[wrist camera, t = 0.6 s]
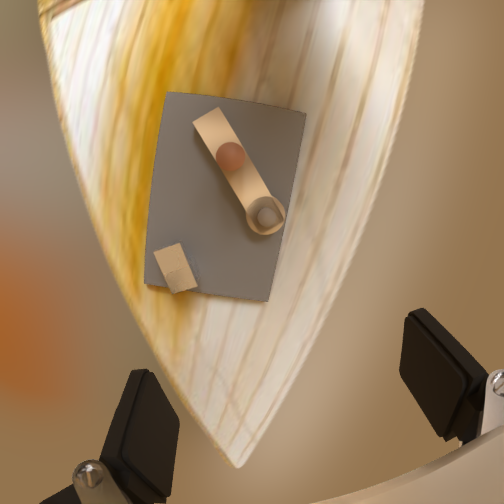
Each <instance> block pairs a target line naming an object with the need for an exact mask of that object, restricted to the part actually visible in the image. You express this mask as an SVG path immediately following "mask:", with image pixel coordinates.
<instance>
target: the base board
mask: <svg viewBox="0 0 504 504" xmlns="http://www.w3.org/2000/svg"><path fill="white" fill-rule="evenodd" d="M217 107H219V108H220V110H221V111H222V113H223V115H224V116H225V118H226V119H227V121H228V123H229V124H230V126H231V128H232V129H233V131H234V133H235V134H236V136H237V138H238V139H239V141H240V142H241V144H242V146H243V148H244V149H245V151H246V153H247V154H248V156H249V158H250V159H251V161H252V163H253V164H254V166H255V168H256V170H257V171H258V173H259V175H260V176H261V178H262V180H263V182H264V183H265V185H266V187H267V189H268V190H269V192H270V194H271V196H273V197H275V198H276V199H277V200H278V201H279V202H280V203H281V204H282V205H283V207H284V210H285V221H286V216H287V212H288V207H289V202H290V197H291V192H292V187H293V182H294V177H295V172H296V167H297V162H298V156H299V151H300V146H301V141H302V135H303V130H304V125H305V119H306V113H302V112H298V111H293V110H289V109H284V108H279V107H275V106H270V105H265V104H259V103H254V102H248V101H242V100H236V99H229V98H222V97H215V96H207V95H198V94H188V93H177V92H167V93H166V98H165V103H164V108H163V114H162V119H161V124H160V130H159V136H158V142H157V149H156V155H155V162H154V170H153V177H152V186H151V194H150V204H149V214H148V225H147V237H146V252H145V271H144V284H150V285H156V286H162V287H168V288H169V286H168V284H167V282H166V280H165V278H164V275H163V273H162V271H161V269H160V267H159V264H158V262H157V260H156V257H155V255H154V253H153V252H154V251H155V249H158V248H160V247H163V246H166V245H169V244H172V243H175V242H177V241H180V240H181V241H182V243H183V246H184V248H185V251H186V253H187V256H188V257H190V256H193V257H194V260H195V262H196V265H197V267H198V269H199V272H200V274H201V275H200V279H199V283H198V286H197V287H194V288H191V289H187V291H194V292H200V293H207V294H214V295H221V296H228V297H235V298H243V299H250V300H258V301H266V302H268V299H269V295H270V291H271V286H272V282H273V277H274V273H275V268H276V264H277V259H278V254H279V250H280V245H281V240H282V236H283V231H284V226H285V222H284V223H283V225H282V227H281V228H280V229H279V230H278V231H276V232H274V233H272V234H268V235H263V234H262V235H260V234H259V233H256V232H255V231H253V230H252V229H251V228H250V226H249V225H248V223H247V219H246V210H245V209H244V207H243V205H242V203H241V202H240V200H239V198H238V197H237V195H236V193H235V192H234V190H233V188H232V187H231V185H230V183H229V182H228V180H227V178H226V177H225V175H224V174H223V172H222V170H221V169H220V167H219V165H218V164H217V162H216V160H215V159H214V157H213V155H212V154H211V152H210V150H209V149H208V147H207V146H206V144H205V142H204V141H203V139H202V137H201V136H200V134H199V132H198V131H197V129H196V128H195V126H194V124H193V123H192V122H193V121H195V120H197V119H198V118H200V117H202V116H203V115H205V114H207V113H208V112H210V111H212V110H214V109H215V108H217Z"/></svg>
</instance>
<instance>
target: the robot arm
mask: <svg viewBox="0 0 504 504" xmlns="http://www.w3.org/2000/svg"><path fill="white" fill-rule="evenodd" d="M399 372H400V375H401V378H402V379H403V381H404V382H405V384H406V385H407V387H408V389H409V390H410V392H411V393H412V395H413V396H414V398H415V399H416V401H417V403H418V404H419V406H420V408H421V409H422V411H423V412H424V414H425V415H426V417H427V419H428V420H429V422H430V424H431V425H432V427H433V429H434V430H435V432H436V434H437V435H438V436H439V437H443V438H444V440H445V441H446V442H447V441H449V440H451V439H452V438H454V437H456V436H457V438H458V439H459V441H460V442H459V447H458V449H456V450H454V451H452V452H451V453H448V454H446V455H445V456H443V457H441V458H439V459H437V460H434V461H432V462H430V463H428V464H426V465H424V466H422V467H420V468H417V469H415V470H413V471H411V472H408V473H406V474H404V475H401V476H399V477H396V478H394V479H391V480H389V481H386V482H383V483H381V484H378V485H375V486H372V487H369V488H366V489H363V490H360V491H357V492H354V493H350V494H347V495H343V496H340V497H336V498H332V499H329V500H324V501H320V502H316V503H311V504H504V369H502V370H497V371H494V372H493V373H491V374H490V375H489V374H488V373H487V372H486V370H485V369H484V368H483V367H482V366H481V365H480V364H479V363H478V362H477V361H476V360H475V359H474V357H472V355H470V353H469V352H468V351H467V350H466V349H465V348H464V347H463V346H462V345H461V344H460V343H459V342H458V341H457V340H456V339H455V338H454V337H453V336H452V335H451V334H450V333H449V332H448V331H447V330H446V329H445V328H444V327H443V326H442V325H441V324H440V323H439V322H438V321H437V320H436V319H435V318H434V317H433V316H432V315H431V314H430V313H429V312H428V311H427V310H426V309H424V308H420V309H417V310H414V311H411V312H410V313H409V314H408V317H406V318H405V322H404V333H403V344H402V352H401V360H400V367H399ZM179 426H180V423H179V418H178V416H177V415H176V413H175V411H174V409H173V408H172V406H171V404H170V402H169V401H168V399H167V397H166V395H165V393H164V392H163V390H162V388H161V386H160V384H159V382H158V380H157V378H156V377H155V375H154V373H153V372H149V370H147V369H138V370H132V371H131V373H130V375H129V378H128V381H127V383H126V386H125V389H124V391H123V394H122V397H121V400H120V402H119V405H118V407H117V409H116V411H115V414H114V417H113V420H112V422H111V425H110V428H109V431H108V434H107V437H106V440H105V443H104V446H103V449H102V452H101V455H100V458H99V461H98V460H94V459H92V460H86V461H84V462H82V463H80V464H79V465H78V466H77V467H76V468H75V469H74V472H73V474H72V481H73V484H72V485H70V486H69V487H66V488H65V489H63V490H61V491H60V492H58V493H56V494H54V495H52V496H51V497H49V498H47V499H45V500H43V501H42V502H41V503H40V504H154V503H165V504H166V498H167V497H169V496H170V495H171V488H172V480H173V471H174V463H175V455H176V448H177V441H178V433H179Z"/></svg>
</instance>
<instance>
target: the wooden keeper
mask: <svg viewBox="0 0 504 504" xmlns="http://www.w3.org/2000/svg"><path fill="white" fill-rule="evenodd" d="M153 253H154V255H155V257H156V260H157V262H158V264H159V267H160V269H161V271H162V273H163V275H164V278H165V280H166V282H167V284H168V286H169V289H170V291H171V293H172V294H175V293H178V292H181V291H184V290H187V289H191V288H194V287H197V286H198V283H199V279H200V275H201V274H200V272H199V269H198V267H197V265H196V262H195V260H194V257H193V256H190V257H188V256H187V253H186V251H185V248H184V246H183V243H182V241H181V240H180V241H177V242H175V243H172V244H169V245H166V246H163V247H160V248H158V249H155V251H154V252H153Z"/></svg>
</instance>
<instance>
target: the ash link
mask: <svg viewBox="0 0 504 504" xmlns="http://www.w3.org/2000/svg"><path fill="white" fill-rule="evenodd" d="M192 123H193V124H194V126H195V128H196V129H197V131H198V132H199V134H200V136H201V137H202V139H203V141H204V142H205V144H206V146H207V147H208V149H209V150H210V152H211V154H212V155H213V157H214V159H215V160H216V162H217V164H218V165H219V167H220V169H221V170H222V172H223V174H224V175H225V177H226V178H227V180H228V182H229V183H230V185H231V187H232V188H233V190H234V192H235V193H236V195H237V197H238V198H239V200H240V202H241V203H242V205H243V207H244V209H245V210H246V219H247V223H248V225H249V226H250V228H251V229H252V230H253V231H255V232H256V233H259V234H260V235H262V234H263V235H268V234H272V233H274V232H276V231H278V230H279V229H280V228H281V227H282V225H283V223H284V222H285V210H284V207H283V205H282V204H281V203H280V202H279V201H278V200H277V199H276V198H275V197H273V196H271V194H270V192H269V190H268V189H267V187H266V185H265V183H264V182H263V180H262V178H261V176H260V175H259V173H258V171H257V170H256V168H255V166H254V164H253V163H252V161H251V159H250V158H249V156H248V154H247V153H246V151H245V149H244V148H243V146H242V144H241V142H240V141H239V139H238V138H237V136H236V134H235V133H234V131H233V129H232V128H231V126H230V124H229V123H228V121H227V119H226V118H225V116H224V115H223V113H222V111H221V110H220V108H219V107H217V108H215V109H214V110H212V111H210V112H208V113H207V114H205V115H203V116H202V117H200V118H198V119H197V120H195V121H193V122H192Z"/></svg>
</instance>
